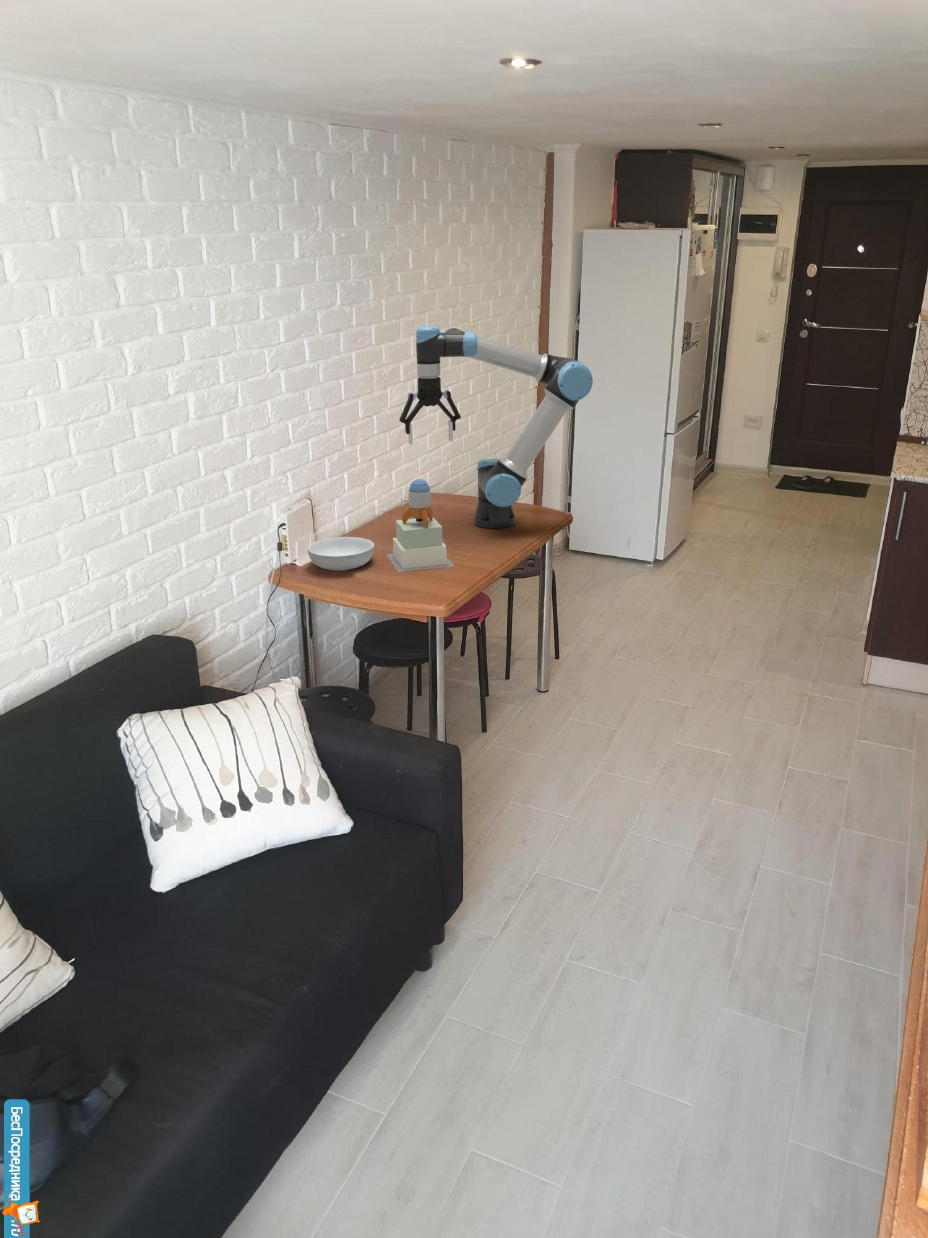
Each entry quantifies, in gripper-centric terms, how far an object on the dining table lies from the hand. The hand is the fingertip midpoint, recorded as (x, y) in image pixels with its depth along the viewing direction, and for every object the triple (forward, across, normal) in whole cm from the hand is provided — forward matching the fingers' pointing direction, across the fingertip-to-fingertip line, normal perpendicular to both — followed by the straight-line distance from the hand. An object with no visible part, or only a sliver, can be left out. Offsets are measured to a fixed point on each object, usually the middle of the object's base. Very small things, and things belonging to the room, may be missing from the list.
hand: (430, 442), depth 314 cm
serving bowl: (+33, +35, +21) cm, 52 cm away
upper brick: (+26, +11, +26) cm, 38 cm away
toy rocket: (+20, +11, +26) cm, 35 cm away
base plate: (+33, +11, +26) cm, 43 cm away
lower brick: (+32, +11, +26) cm, 42 cm away
